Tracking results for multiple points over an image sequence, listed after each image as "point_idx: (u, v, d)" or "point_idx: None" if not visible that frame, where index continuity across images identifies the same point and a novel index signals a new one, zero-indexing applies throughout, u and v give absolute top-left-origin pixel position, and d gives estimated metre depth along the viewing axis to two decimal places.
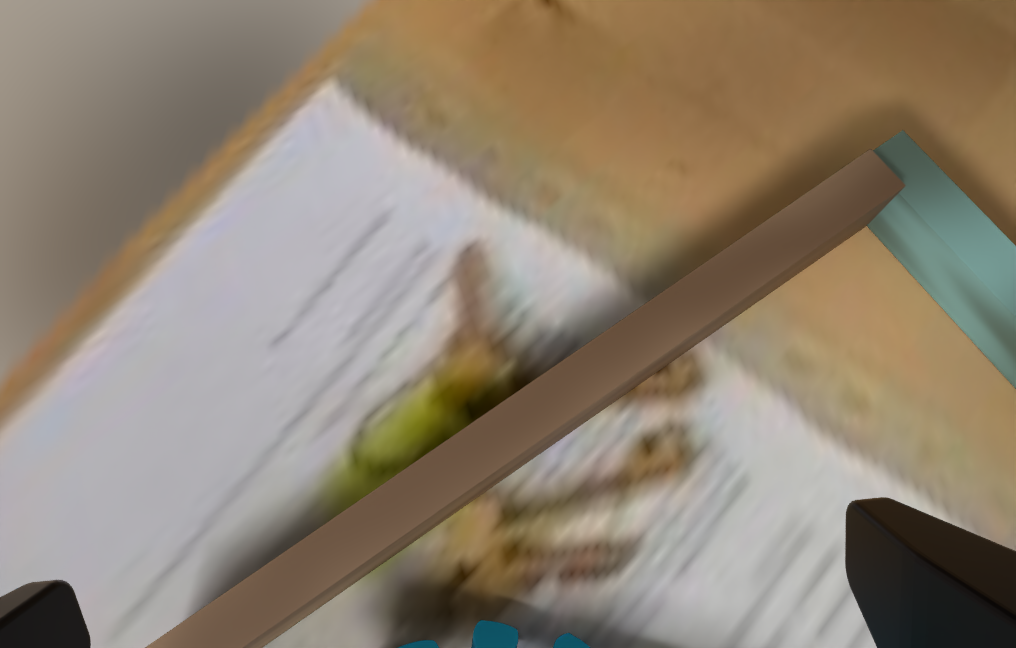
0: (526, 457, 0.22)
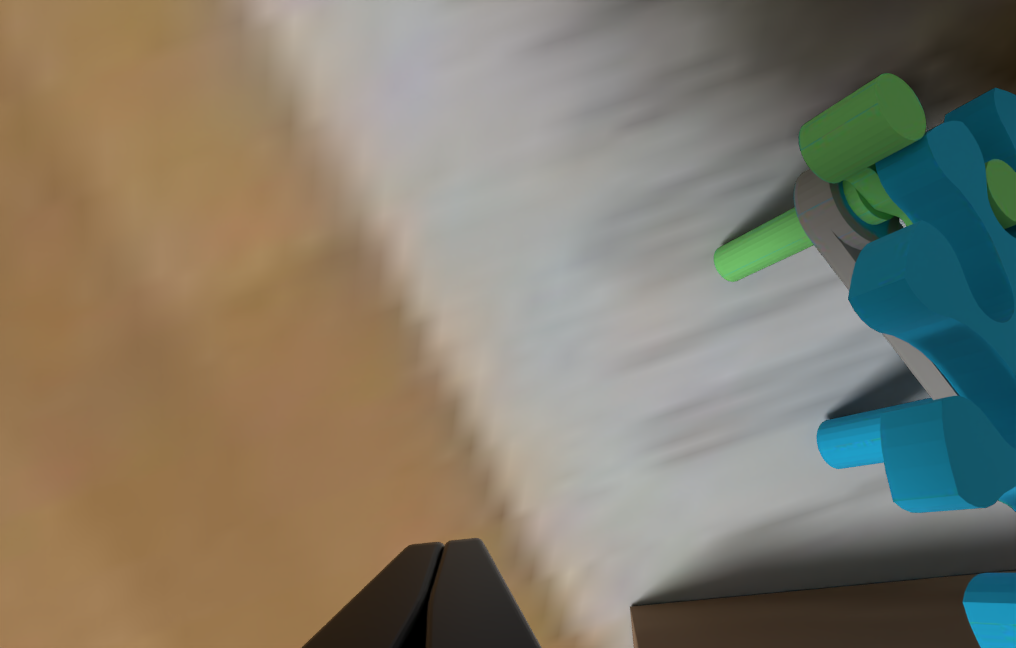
0: None
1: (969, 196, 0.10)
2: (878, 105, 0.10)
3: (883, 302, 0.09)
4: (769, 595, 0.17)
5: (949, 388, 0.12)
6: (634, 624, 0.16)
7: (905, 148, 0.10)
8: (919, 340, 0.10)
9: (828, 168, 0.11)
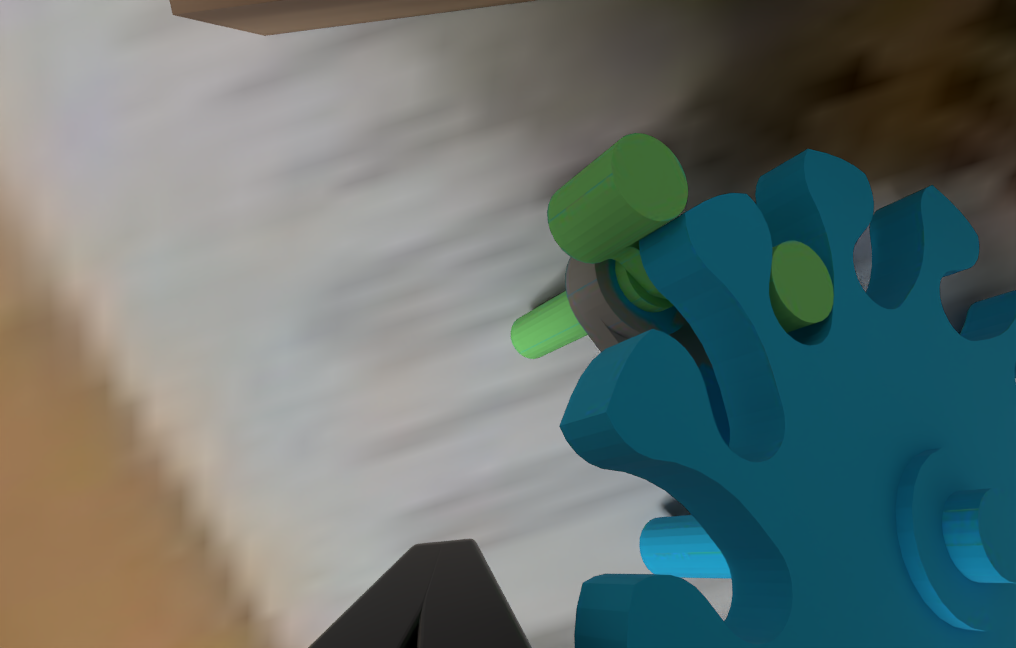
0: None
1: (740, 292, 0.08)
2: (614, 175, 0.08)
3: (591, 437, 0.07)
4: None
5: None
6: None
7: (665, 227, 0.08)
8: (656, 479, 0.08)
9: (578, 247, 0.09)
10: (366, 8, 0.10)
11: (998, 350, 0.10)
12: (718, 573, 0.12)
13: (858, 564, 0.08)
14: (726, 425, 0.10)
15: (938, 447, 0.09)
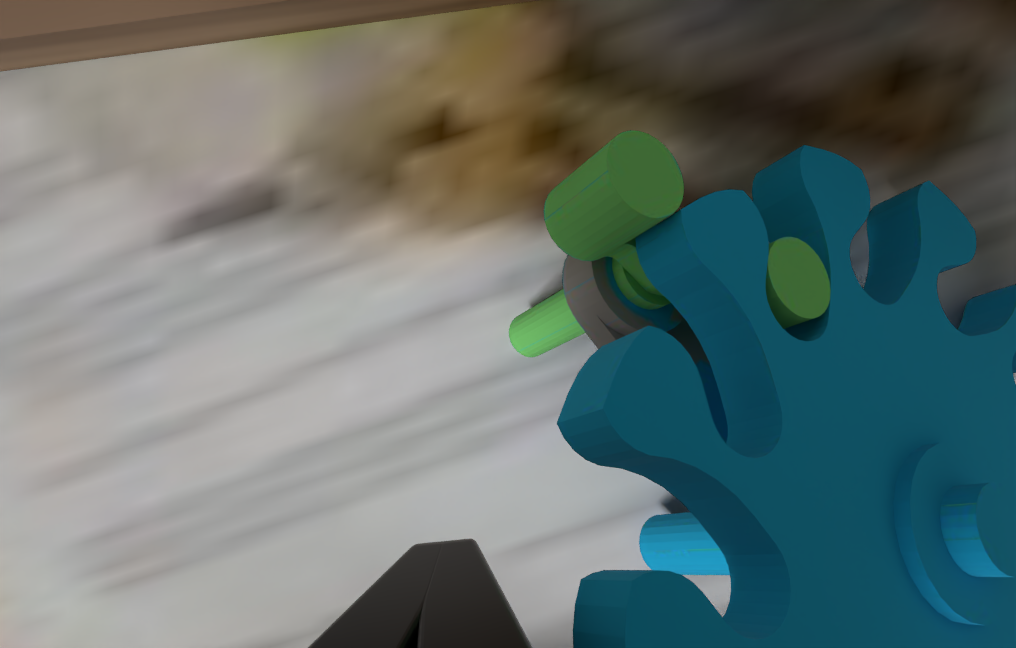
0: None
1: (737, 288, 0.08)
2: (609, 174, 0.08)
3: (588, 434, 0.07)
4: None
5: None
6: None
7: (661, 224, 0.08)
8: (654, 475, 0.08)
9: (574, 245, 0.09)
10: None
11: (995, 345, 0.10)
12: (718, 570, 0.12)
13: (856, 559, 0.08)
14: (725, 421, 0.10)
15: (936, 442, 0.09)
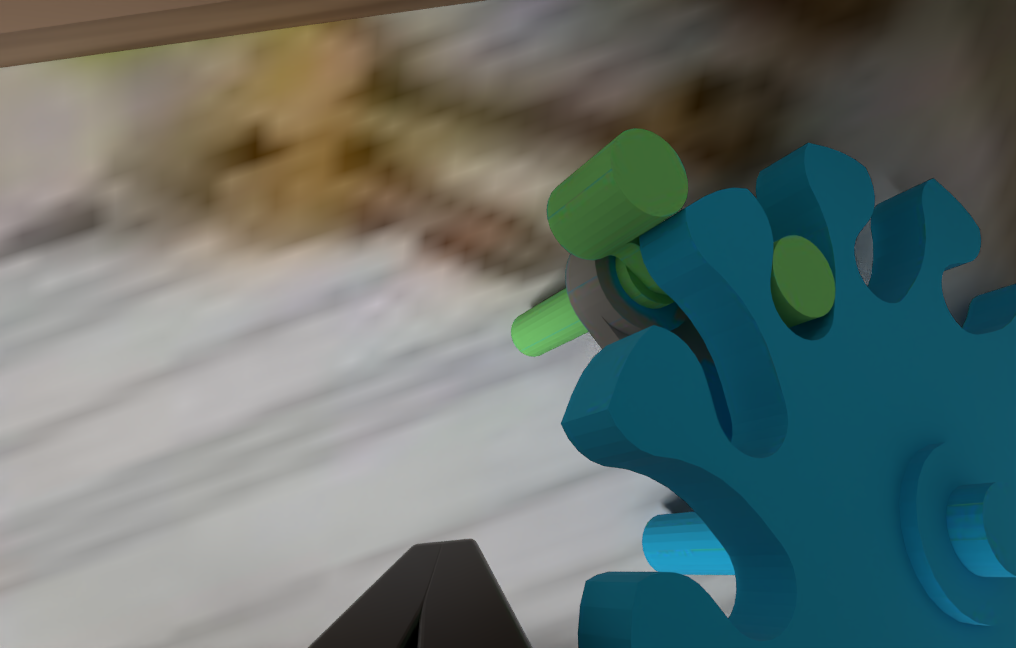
0: None
1: (741, 287, 0.08)
2: (613, 171, 0.08)
3: (593, 434, 0.07)
4: None
5: None
6: None
7: (665, 223, 0.08)
8: (659, 476, 0.08)
9: (577, 243, 0.09)
10: None
11: (1001, 343, 0.10)
12: (721, 570, 0.11)
13: (862, 560, 0.08)
14: (728, 420, 0.10)
15: (942, 441, 0.09)
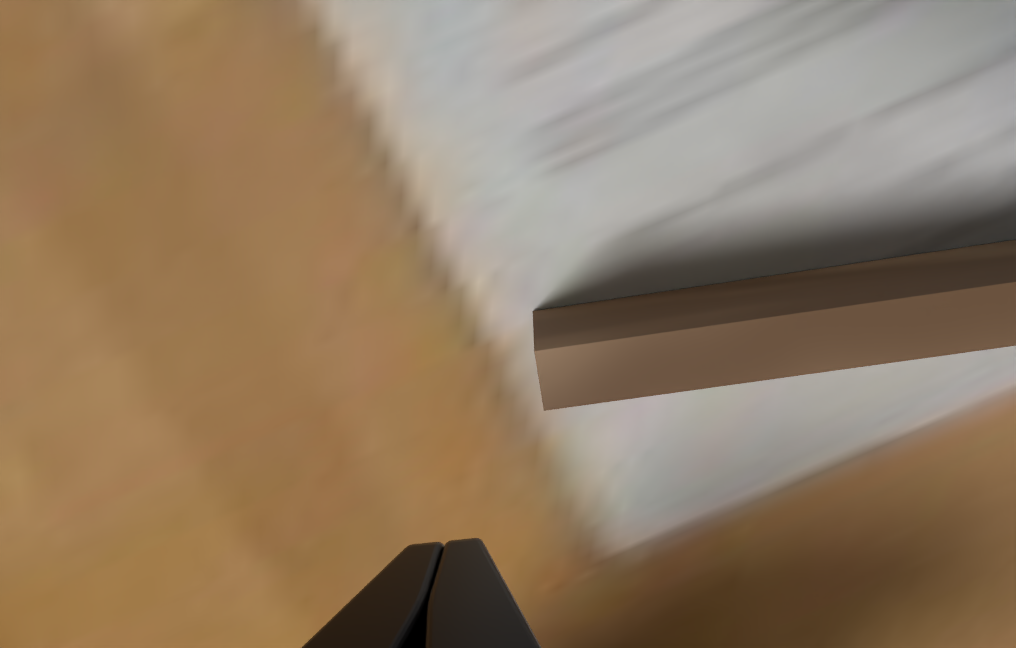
0: None
1: None
2: None
3: None
4: (651, 294, 0.19)
5: None
6: (533, 318, 0.19)
7: None
8: None
9: None
10: None
11: None
12: None
13: None
14: None
15: None
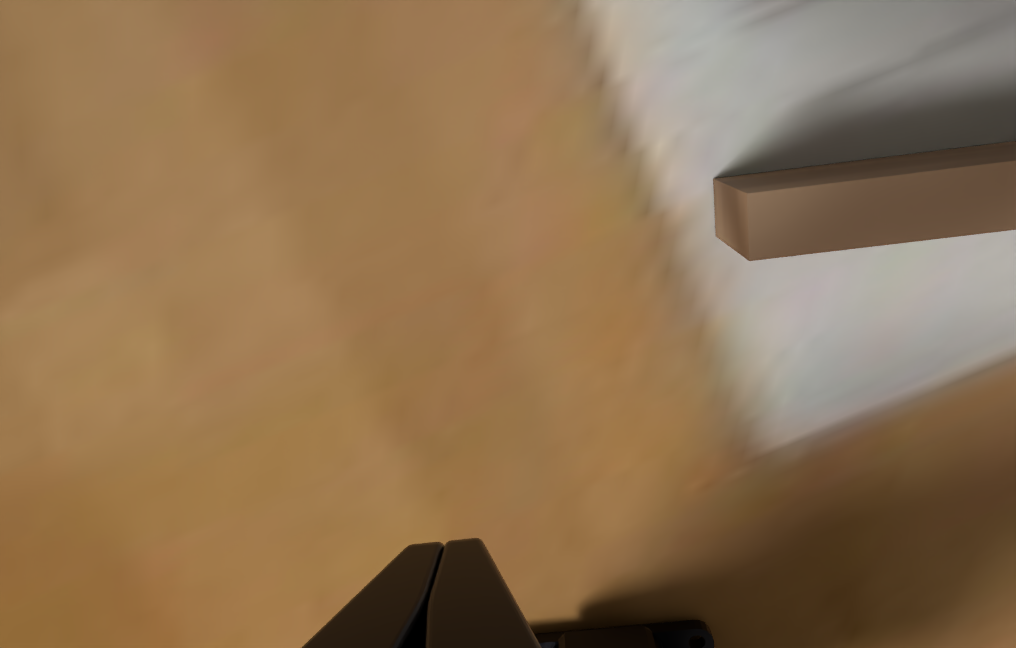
0: None
1: None
2: None
3: None
4: (839, 163, 0.19)
5: None
6: (719, 182, 0.18)
7: None
8: None
9: None
10: None
11: None
12: None
13: None
14: None
15: None
